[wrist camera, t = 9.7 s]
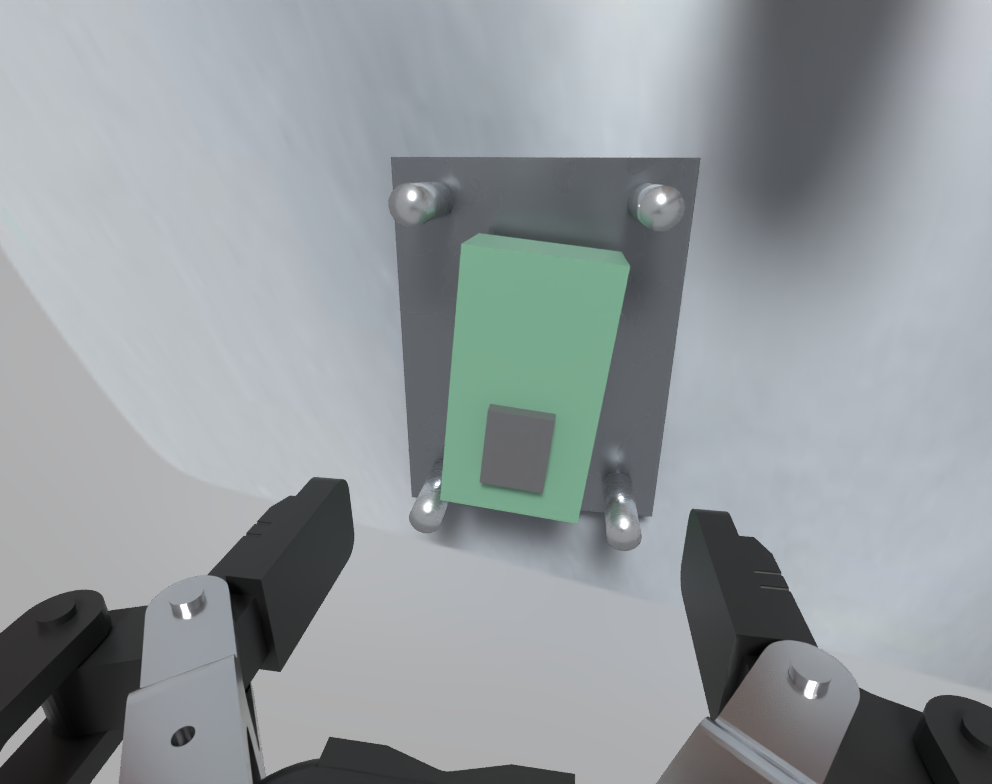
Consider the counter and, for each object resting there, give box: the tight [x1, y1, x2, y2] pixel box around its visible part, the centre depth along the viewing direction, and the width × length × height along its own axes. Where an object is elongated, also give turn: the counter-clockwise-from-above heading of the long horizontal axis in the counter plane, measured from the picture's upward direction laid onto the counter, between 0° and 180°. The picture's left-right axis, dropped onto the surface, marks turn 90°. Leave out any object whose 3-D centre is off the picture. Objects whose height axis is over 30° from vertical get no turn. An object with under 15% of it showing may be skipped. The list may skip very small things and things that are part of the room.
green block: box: [440, 233, 630, 524], centre depth 21 cm, size 10×6×4 cm, turn 174°
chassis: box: [389, 157, 700, 551], centre depth 23 cm, size 16×12×5 cm
